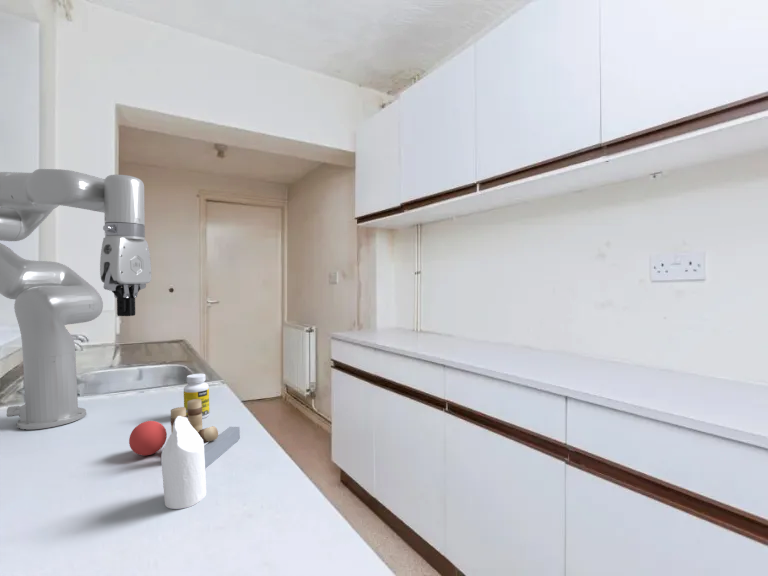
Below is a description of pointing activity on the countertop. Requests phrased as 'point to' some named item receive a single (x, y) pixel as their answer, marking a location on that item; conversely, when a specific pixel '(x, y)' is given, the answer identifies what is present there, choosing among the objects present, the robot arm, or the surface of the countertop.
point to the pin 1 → (177, 414)
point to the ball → (147, 438)
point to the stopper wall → (221, 444)
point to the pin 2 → (195, 413)
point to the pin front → (208, 434)
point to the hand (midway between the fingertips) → (126, 315)
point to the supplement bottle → (197, 392)
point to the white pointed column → (183, 466)
